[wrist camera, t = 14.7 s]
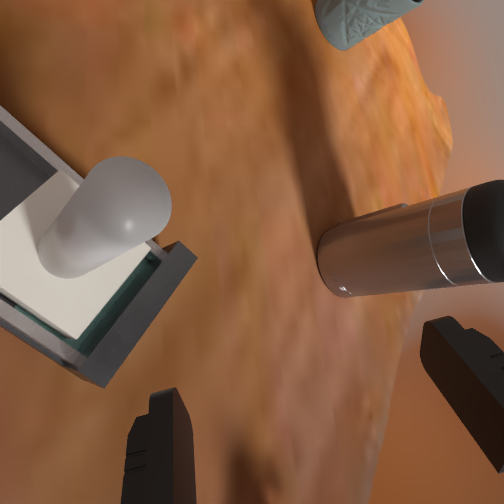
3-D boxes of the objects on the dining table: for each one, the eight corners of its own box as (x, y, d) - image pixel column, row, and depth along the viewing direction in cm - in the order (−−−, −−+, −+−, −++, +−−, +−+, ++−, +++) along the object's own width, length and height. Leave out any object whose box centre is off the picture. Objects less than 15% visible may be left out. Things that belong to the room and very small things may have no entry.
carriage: (52, 183, 27) (115, 66, 15) (137, 255, 30) (244, 203, 18) (-41, 265, 23) (-55, 191, 11) (67, 339, 26) (147, 343, 14)
